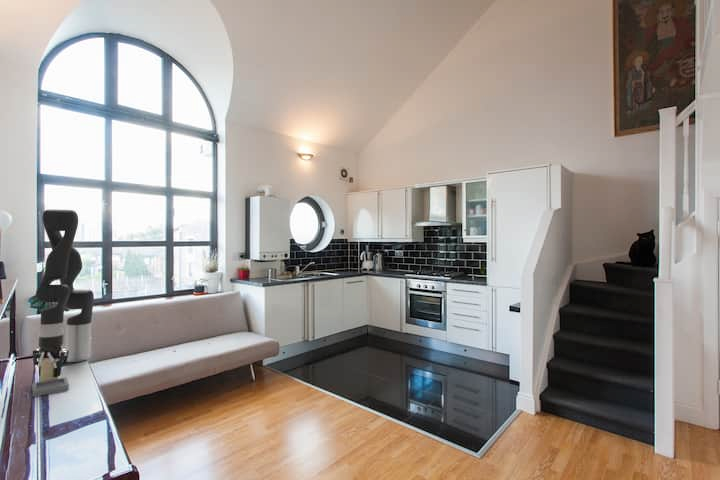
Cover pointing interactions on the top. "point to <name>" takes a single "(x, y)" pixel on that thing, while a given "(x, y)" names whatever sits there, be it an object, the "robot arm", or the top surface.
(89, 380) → the top surface
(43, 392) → the holder
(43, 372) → the candle
